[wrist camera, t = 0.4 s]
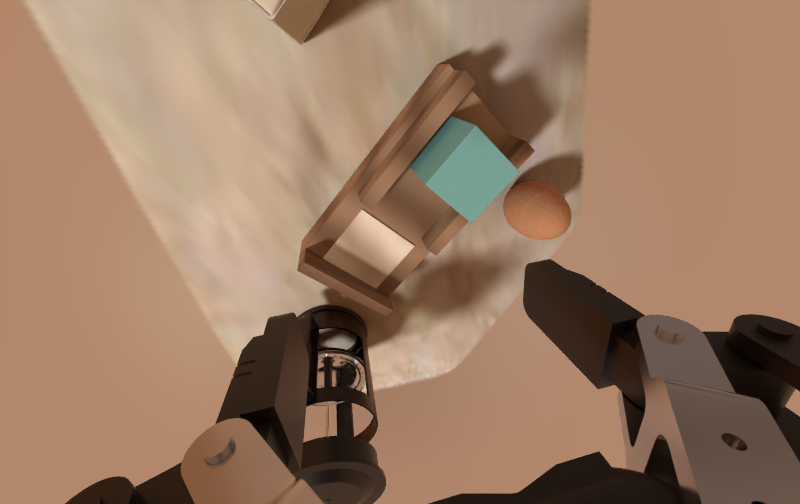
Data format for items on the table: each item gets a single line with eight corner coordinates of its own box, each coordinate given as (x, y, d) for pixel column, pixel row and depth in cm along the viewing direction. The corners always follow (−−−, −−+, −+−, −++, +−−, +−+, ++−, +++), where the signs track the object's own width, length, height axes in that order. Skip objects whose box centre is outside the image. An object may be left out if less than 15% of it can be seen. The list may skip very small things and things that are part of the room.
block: (450, 115, 25) (476, 125, 21) (489, 156, 27) (519, 172, 23) (409, 166, 26) (425, 184, 22) (449, 200, 28) (471, 223, 24)
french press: (378, 350, 41) (424, 605, 21) (311, 375, 41) (294, 654, 21) (344, 283, 35) (364, 555, 15) (264, 312, 35) (181, 625, 15)
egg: (483, 210, 34) (521, 244, 27) (509, 164, 32) (558, 190, 25) (519, 224, 36) (564, 260, 29) (546, 182, 34) (601, 211, 27)
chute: (437, 64, 26) (461, 63, 21) (508, 143, 30) (540, 156, 26) (302, 240, 31) (297, 270, 27) (379, 285, 36) (387, 317, 31)
